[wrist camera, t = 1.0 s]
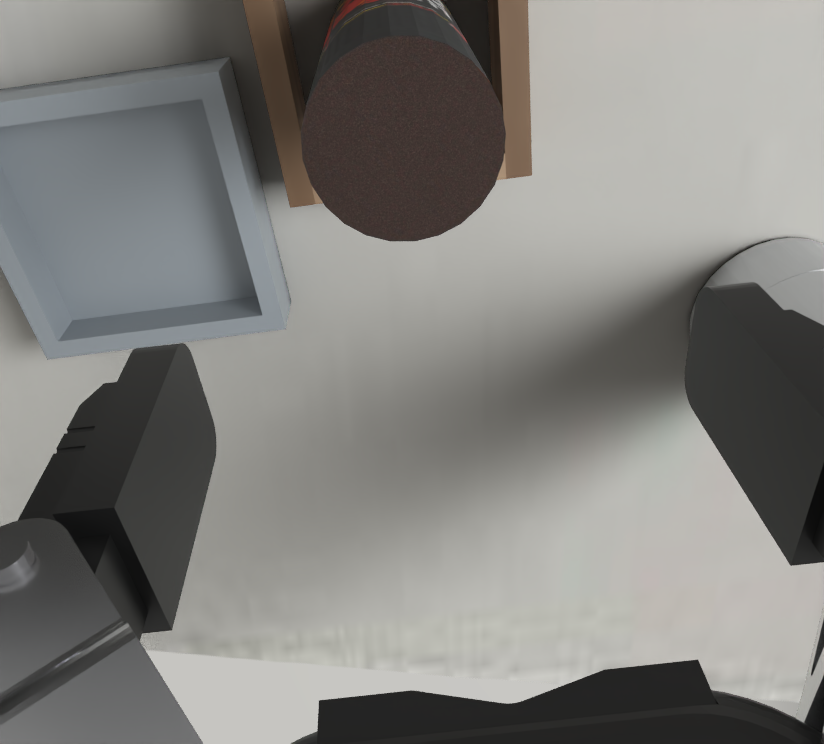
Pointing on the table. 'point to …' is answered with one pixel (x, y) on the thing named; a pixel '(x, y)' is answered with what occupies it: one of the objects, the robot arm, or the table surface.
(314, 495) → the table surface
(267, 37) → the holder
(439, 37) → the deodorant
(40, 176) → the tray
